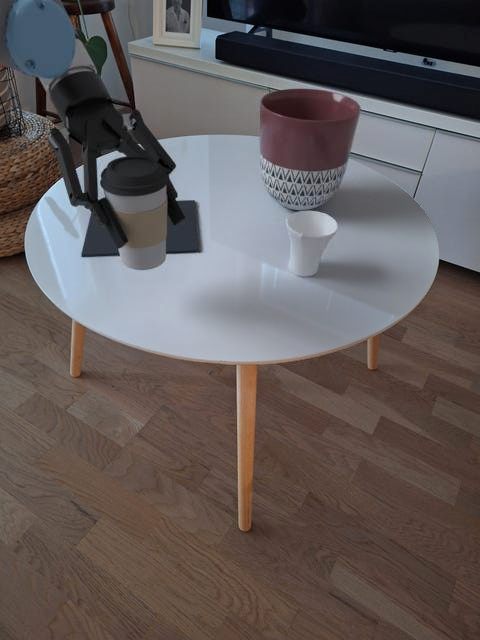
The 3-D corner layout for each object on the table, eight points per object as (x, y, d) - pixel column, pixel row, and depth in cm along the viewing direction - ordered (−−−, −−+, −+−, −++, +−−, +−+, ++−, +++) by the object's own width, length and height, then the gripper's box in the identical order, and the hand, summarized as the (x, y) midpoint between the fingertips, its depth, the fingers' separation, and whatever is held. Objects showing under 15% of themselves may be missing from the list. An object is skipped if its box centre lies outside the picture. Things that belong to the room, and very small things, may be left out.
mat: (81, 256, 86) (81, 254, 86) (94, 204, 101) (93, 202, 100) (199, 252, 89) (199, 250, 88) (195, 202, 103) (194, 200, 103)
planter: (237, 198, 105) (240, 98, 91) (298, 177, 114) (310, 83, 100) (296, 235, 94) (310, 128, 80) (359, 208, 103) (381, 108, 89)
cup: (271, 274, 84) (276, 226, 77) (293, 250, 90) (300, 203, 83) (316, 291, 81) (325, 242, 74) (336, 265, 87) (346, 218, 80)
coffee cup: (145, 282, 67) (133, 184, 57) (100, 260, 70) (82, 165, 60) (184, 254, 72) (180, 160, 62) (141, 235, 76) (131, 144, 66)
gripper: (132, 87, 72) (199, 217, 75) (-8, 116, 61) (77, 269, 63) (149, 56, 66) (222, 199, 68) (-4, 81, 54) (90, 253, 57)
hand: (152, 233), depth 66 cm, fingers closed on coffee cup, 9 cm apart
